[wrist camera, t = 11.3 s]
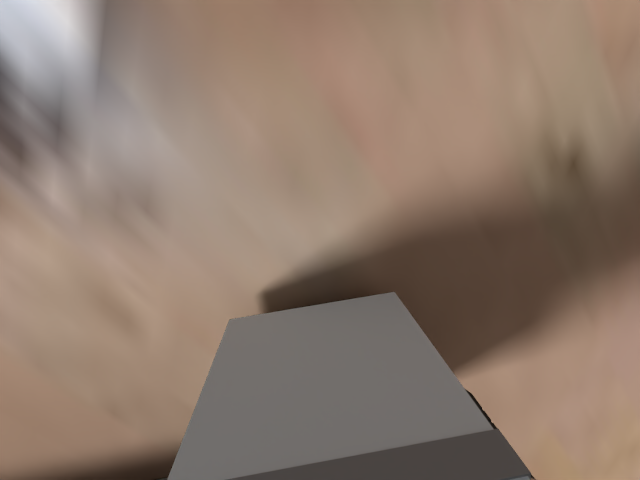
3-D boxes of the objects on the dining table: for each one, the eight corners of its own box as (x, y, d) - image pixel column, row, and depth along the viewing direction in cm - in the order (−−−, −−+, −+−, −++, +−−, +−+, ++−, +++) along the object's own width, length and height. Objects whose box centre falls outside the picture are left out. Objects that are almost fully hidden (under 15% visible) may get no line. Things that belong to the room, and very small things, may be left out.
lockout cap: (261, 448, 13) (223, 787, 6) (227, 318, 11) (119, 586, 4) (405, 421, 13) (529, 718, 6) (395, 290, 11) (551, 500, 4)
